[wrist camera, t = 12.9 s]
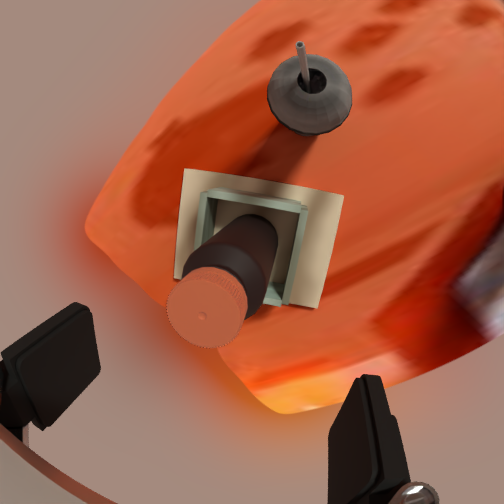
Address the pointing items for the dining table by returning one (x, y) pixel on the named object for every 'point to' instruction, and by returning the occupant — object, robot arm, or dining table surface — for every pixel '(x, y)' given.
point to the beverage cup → (309, 94)
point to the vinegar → (224, 282)
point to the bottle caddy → (281, 217)
